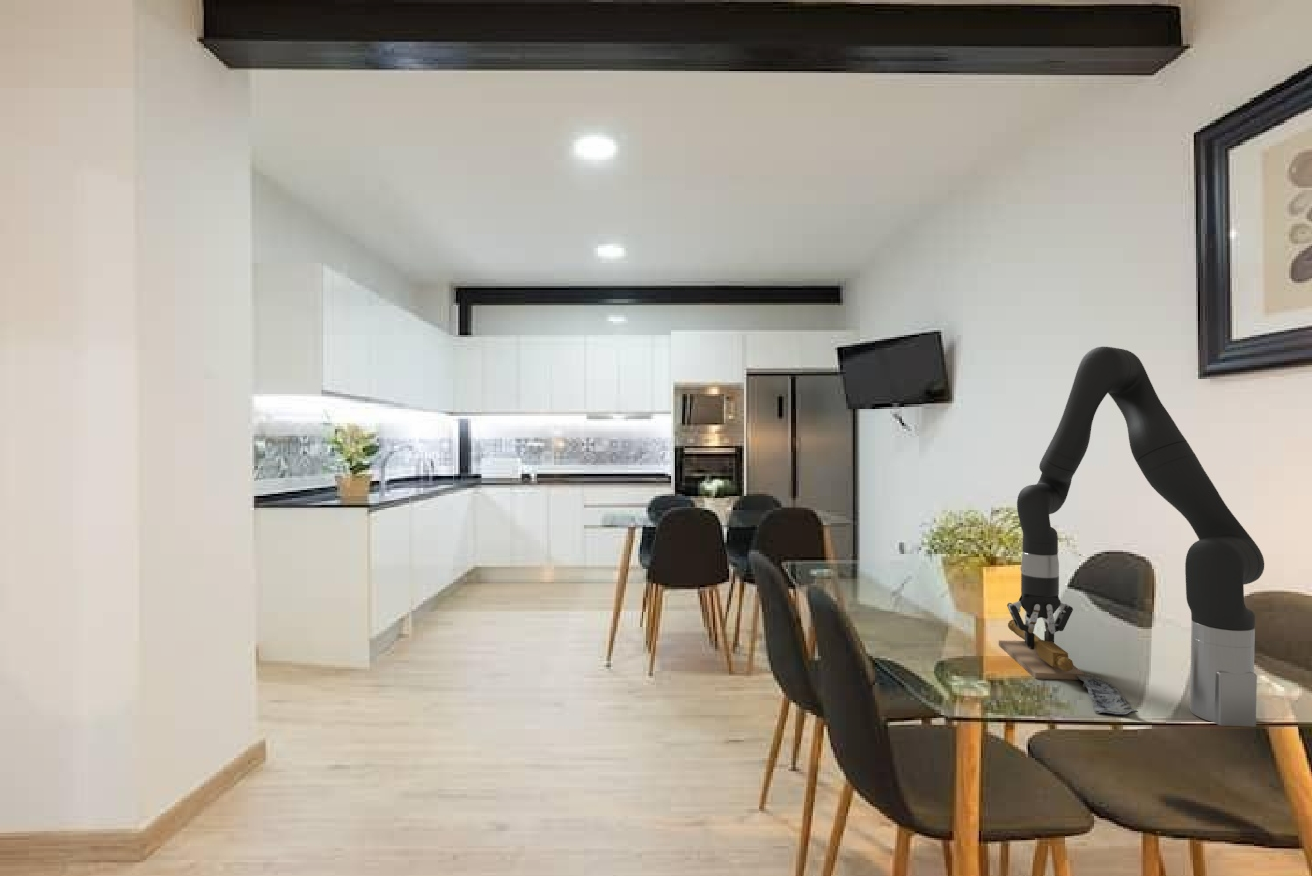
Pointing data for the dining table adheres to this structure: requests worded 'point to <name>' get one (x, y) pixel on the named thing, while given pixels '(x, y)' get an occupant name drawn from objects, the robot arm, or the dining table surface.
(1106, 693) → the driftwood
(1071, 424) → the robot arm
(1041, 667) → the cutting board
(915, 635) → the dining table surface
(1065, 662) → the tap handle
